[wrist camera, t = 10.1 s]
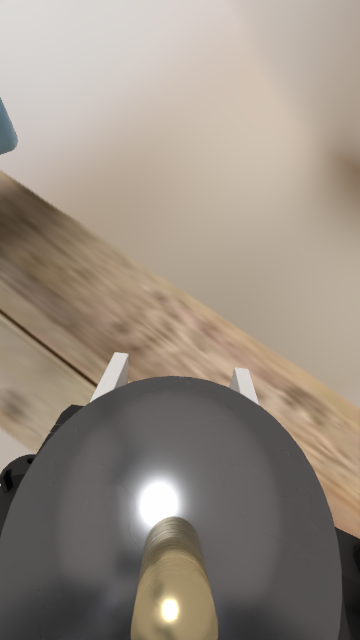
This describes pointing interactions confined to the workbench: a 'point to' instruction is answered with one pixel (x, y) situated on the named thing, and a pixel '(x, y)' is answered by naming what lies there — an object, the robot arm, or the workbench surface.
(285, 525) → the motor housing
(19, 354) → the workbench surface
